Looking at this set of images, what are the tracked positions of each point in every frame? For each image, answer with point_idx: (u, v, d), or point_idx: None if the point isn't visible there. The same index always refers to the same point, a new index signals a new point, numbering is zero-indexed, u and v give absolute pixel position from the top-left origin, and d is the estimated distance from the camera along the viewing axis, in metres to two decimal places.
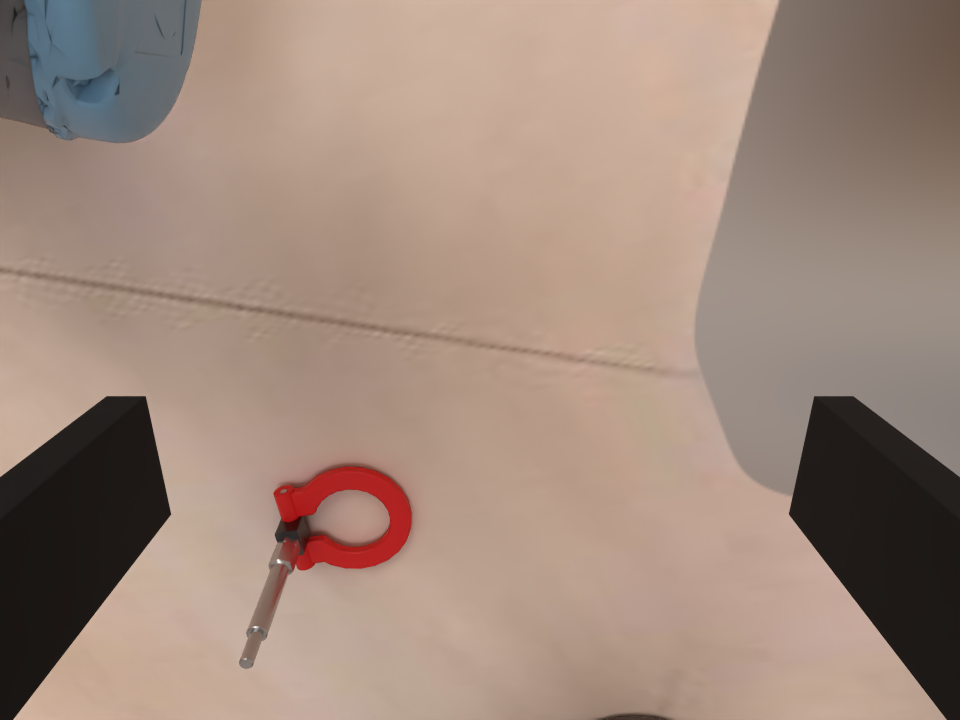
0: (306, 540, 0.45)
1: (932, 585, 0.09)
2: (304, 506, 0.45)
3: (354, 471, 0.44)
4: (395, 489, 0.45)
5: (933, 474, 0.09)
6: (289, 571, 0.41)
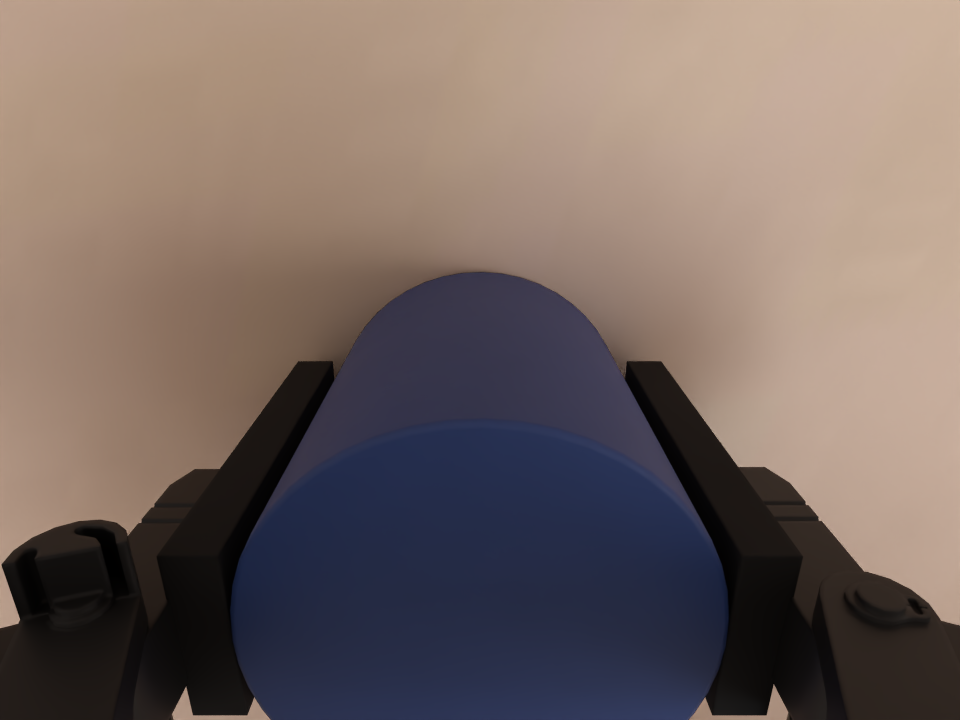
0: None
1: None
2: None
3: None
4: None
5: (683, 419, 0.11)
6: None
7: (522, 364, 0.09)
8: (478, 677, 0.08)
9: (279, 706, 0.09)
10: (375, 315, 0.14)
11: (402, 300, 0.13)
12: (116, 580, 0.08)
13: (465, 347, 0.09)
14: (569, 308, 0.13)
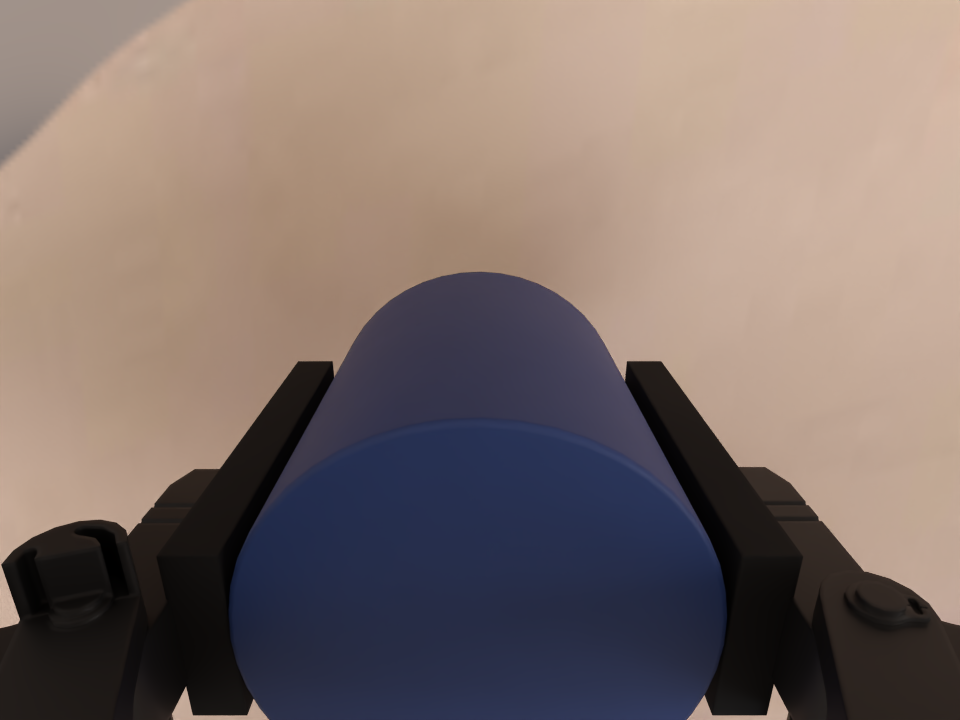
0: None
1: None
2: None
3: None
4: None
5: (683, 419, 0.11)
6: None
7: (521, 362, 0.09)
8: (476, 677, 0.08)
9: (277, 705, 0.09)
10: (374, 315, 0.14)
11: (401, 300, 0.13)
12: (115, 580, 0.08)
13: (462, 346, 0.09)
14: (568, 308, 0.13)
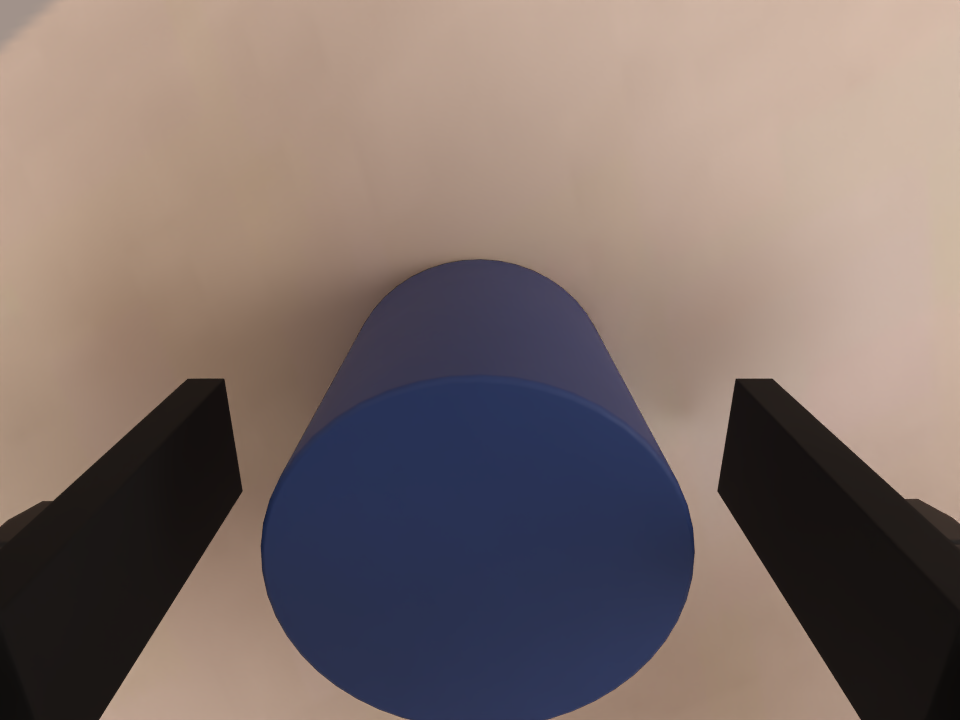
0: None
1: (818, 546, 0.10)
2: None
3: None
4: None
5: (825, 446, 0.10)
6: None
7: (516, 333, 0.10)
8: (476, 607, 0.10)
9: (302, 633, 0.10)
10: (382, 299, 0.15)
11: (407, 284, 0.14)
12: None
13: (464, 320, 0.10)
14: (560, 292, 0.14)
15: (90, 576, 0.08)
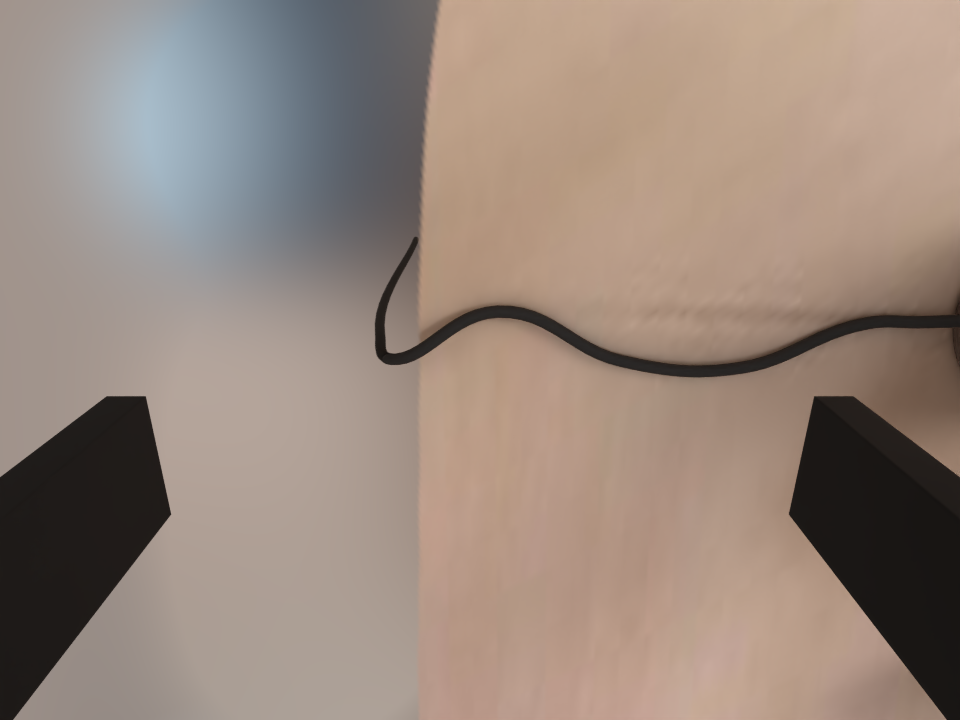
0: None
1: (932, 584, 0.09)
2: None
3: None
4: None
5: (933, 474, 0.09)
6: None
7: None
8: None
9: None
10: None
11: None
12: None
13: None
14: None
15: None
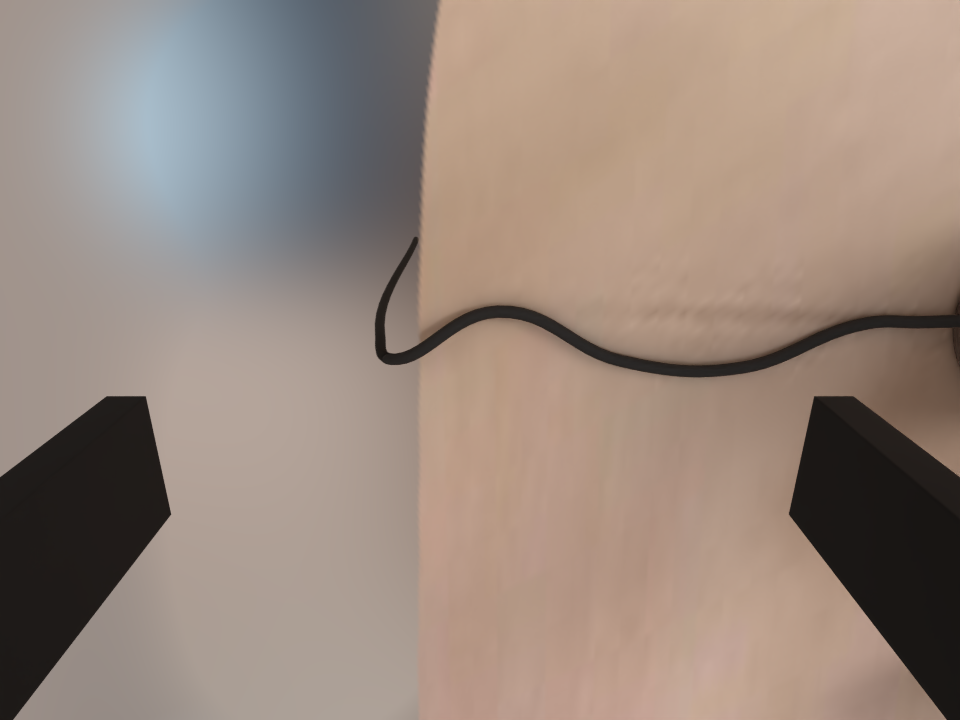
0: None
1: (932, 584, 0.09)
2: None
3: None
4: None
5: (933, 474, 0.09)
6: None
7: None
8: None
9: None
10: None
11: None
12: None
13: None
14: None
15: None
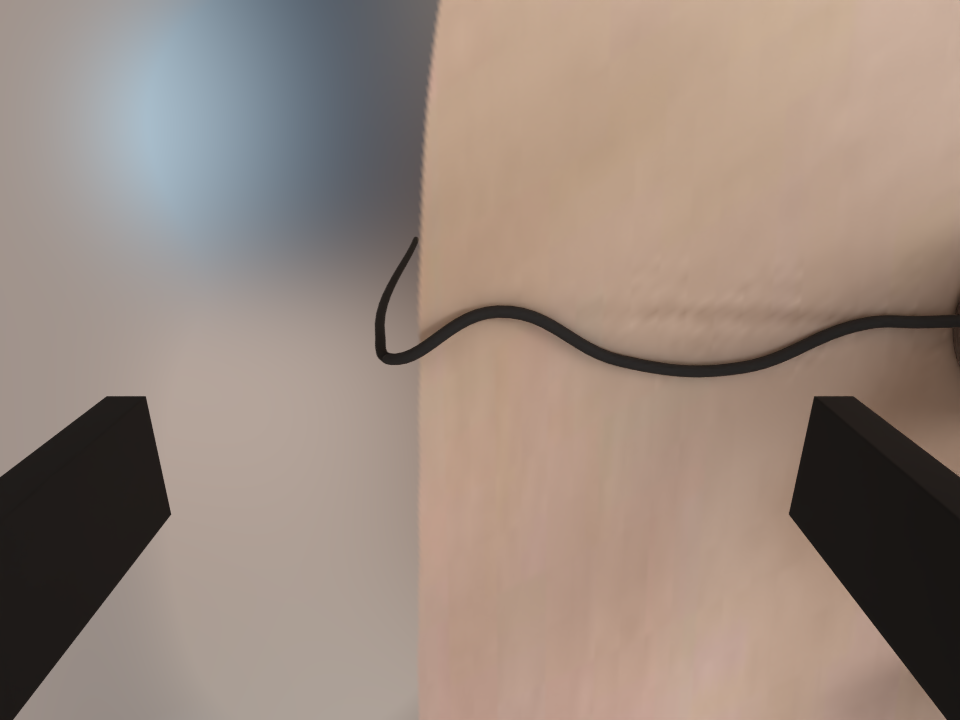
0: None
1: (932, 584, 0.09)
2: None
3: None
4: None
5: (933, 474, 0.09)
6: None
7: None
8: None
9: None
10: None
11: None
12: None
13: None
14: None
15: None
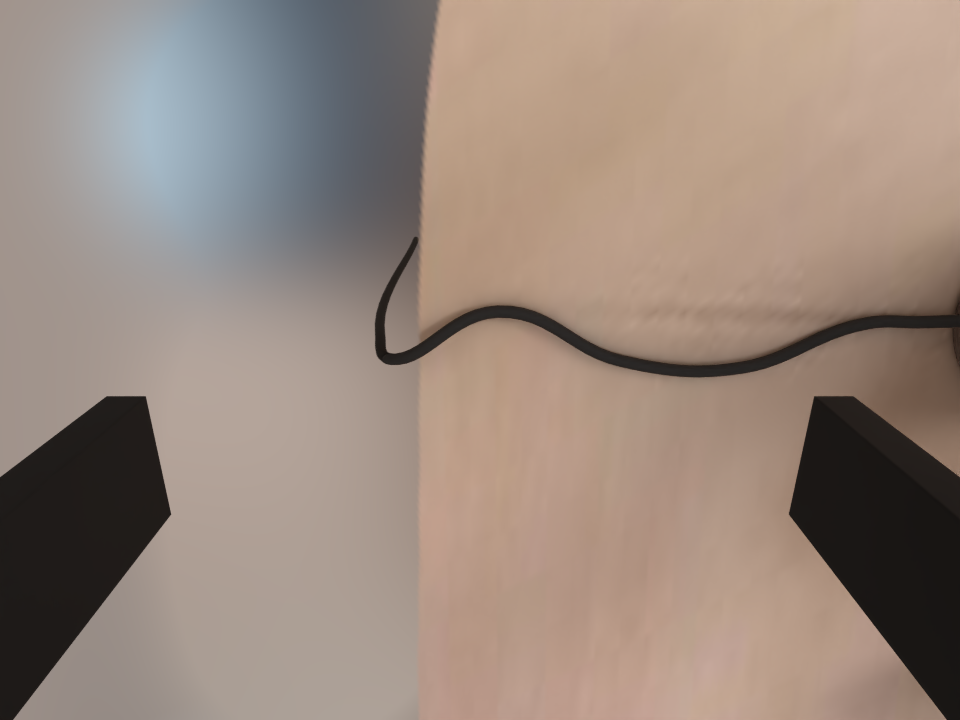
0: None
1: (932, 584, 0.09)
2: None
3: None
4: None
5: (933, 474, 0.09)
6: None
7: None
8: None
9: None
10: None
11: None
12: None
13: None
14: None
15: None
